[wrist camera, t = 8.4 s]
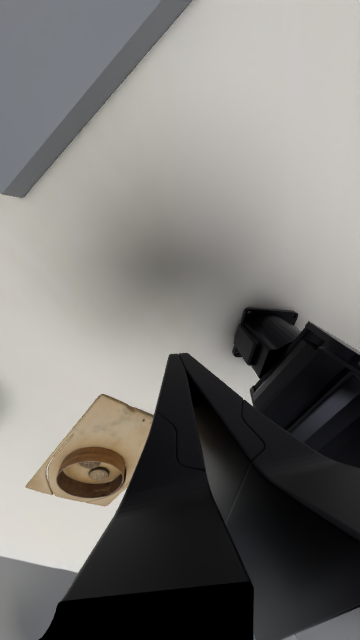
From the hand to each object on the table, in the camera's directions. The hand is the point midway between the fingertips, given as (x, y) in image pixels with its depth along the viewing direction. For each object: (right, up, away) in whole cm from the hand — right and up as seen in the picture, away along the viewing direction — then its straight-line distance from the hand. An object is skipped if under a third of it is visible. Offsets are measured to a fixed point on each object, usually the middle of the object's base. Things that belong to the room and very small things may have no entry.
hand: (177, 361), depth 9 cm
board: (-12, -20, +24) cm, 33 cm away
